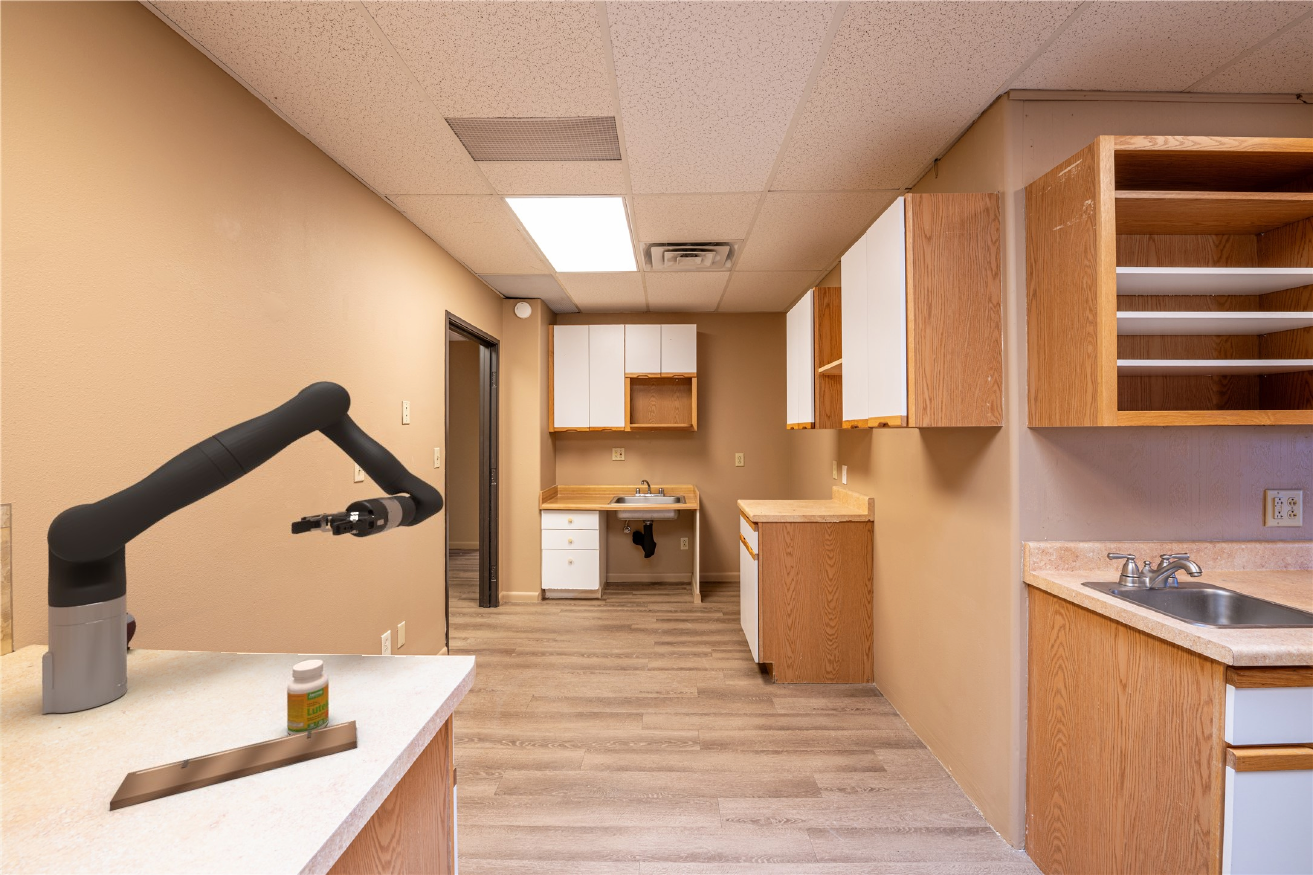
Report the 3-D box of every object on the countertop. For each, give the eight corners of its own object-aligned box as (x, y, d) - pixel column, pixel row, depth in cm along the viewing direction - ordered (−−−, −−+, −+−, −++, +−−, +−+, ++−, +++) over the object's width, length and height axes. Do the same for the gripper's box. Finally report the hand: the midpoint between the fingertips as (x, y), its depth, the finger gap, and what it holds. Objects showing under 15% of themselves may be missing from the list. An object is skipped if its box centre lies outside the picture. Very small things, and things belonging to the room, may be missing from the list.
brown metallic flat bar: (109, 810, 65) (109, 801, 65) (128, 780, 71) (128, 772, 71) (356, 747, 78) (356, 739, 78) (355, 726, 84) (355, 719, 84)
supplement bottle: (308, 738, 80) (308, 673, 80) (278, 734, 82) (278, 670, 82) (336, 720, 86) (336, 658, 86) (308, 716, 87) (308, 656, 87)
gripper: (344, 497, 116) (279, 507, 100) (404, 499, 113) (348, 509, 97) (344, 532, 116) (279, 548, 100) (404, 534, 113) (348, 551, 98)
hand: (313, 529), depth 99 cm, fingers open, 8 cm apart
